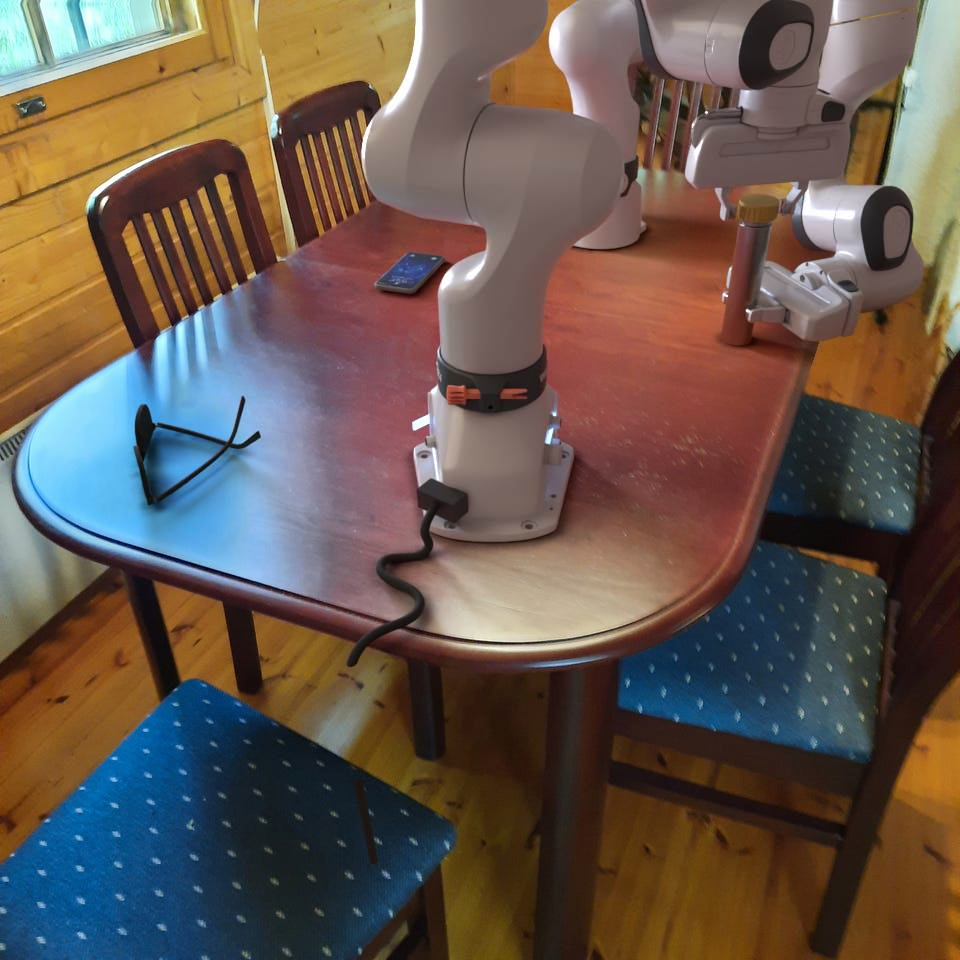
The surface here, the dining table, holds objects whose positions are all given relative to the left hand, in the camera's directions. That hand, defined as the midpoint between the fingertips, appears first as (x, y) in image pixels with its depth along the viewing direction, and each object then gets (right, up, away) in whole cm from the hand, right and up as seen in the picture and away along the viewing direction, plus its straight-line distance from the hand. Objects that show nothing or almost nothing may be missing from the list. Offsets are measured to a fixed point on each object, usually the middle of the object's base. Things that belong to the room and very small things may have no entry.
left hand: (756, 216), depth 112 cm
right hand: (-1, -10, +7) cm, 13 cm away
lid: (0, +2, -1) cm, 2 cm away
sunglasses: (-69, -32, -11) cm, 77 cm away
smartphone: (-48, 0, +31) cm, 57 cm away
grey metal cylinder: (0, -14, +11) cm, 18 cm away
